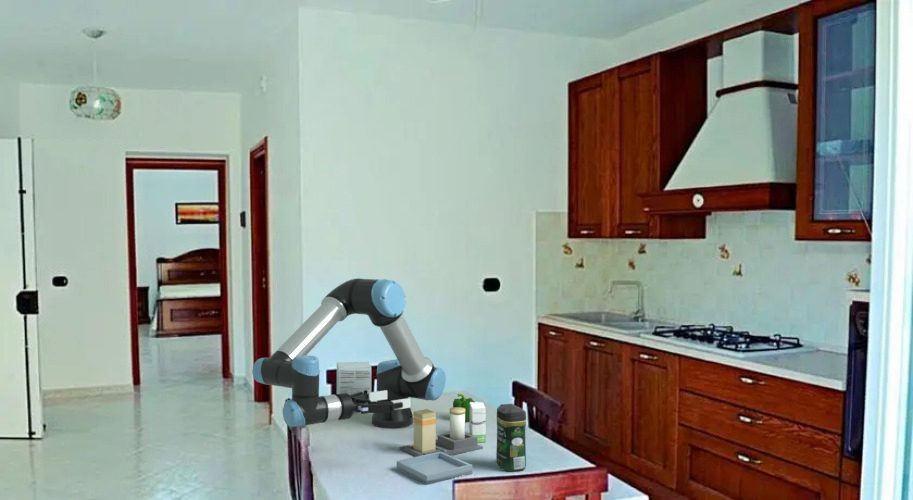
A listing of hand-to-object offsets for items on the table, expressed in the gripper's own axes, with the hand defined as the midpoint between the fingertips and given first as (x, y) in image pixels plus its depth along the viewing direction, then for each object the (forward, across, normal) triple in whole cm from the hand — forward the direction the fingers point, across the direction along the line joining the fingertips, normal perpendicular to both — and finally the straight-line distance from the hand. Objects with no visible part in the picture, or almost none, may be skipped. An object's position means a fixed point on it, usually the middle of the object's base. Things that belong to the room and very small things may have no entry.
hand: (398, 398), depth 222 cm
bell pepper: (+44, -24, -18) cm, 54 cm away
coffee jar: (+23, +27, -19) cm, 40 cm away
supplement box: (+19, -64, -18) cm, 69 cm away
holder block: (+17, 0, -18) cm, 25 cm away
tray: (+2, +17, -19) cm, 25 cm away
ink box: (+33, -2, -18) cm, 38 cm away
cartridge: (+23, 0, -18) cm, 30 cm away
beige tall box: (+10, 0, -18) cm, 21 cm away
